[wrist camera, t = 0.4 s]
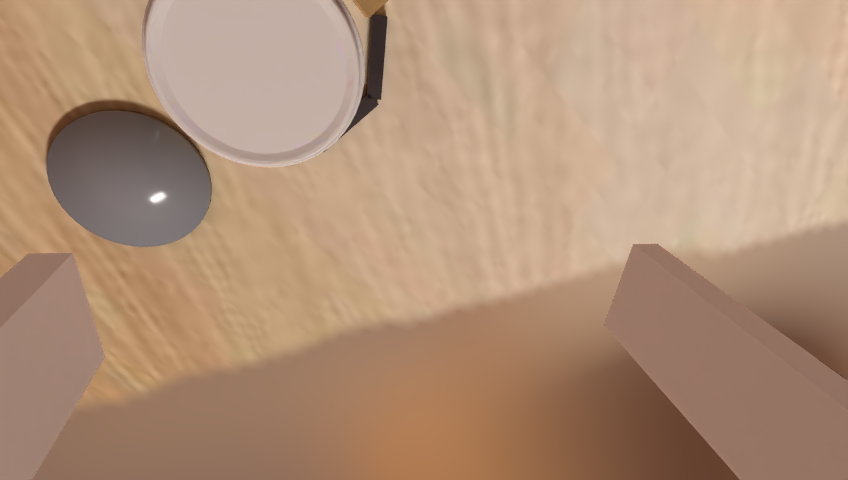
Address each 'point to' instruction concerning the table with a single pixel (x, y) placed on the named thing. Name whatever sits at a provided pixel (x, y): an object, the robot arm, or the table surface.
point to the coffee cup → (256, 74)
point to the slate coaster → (129, 178)
